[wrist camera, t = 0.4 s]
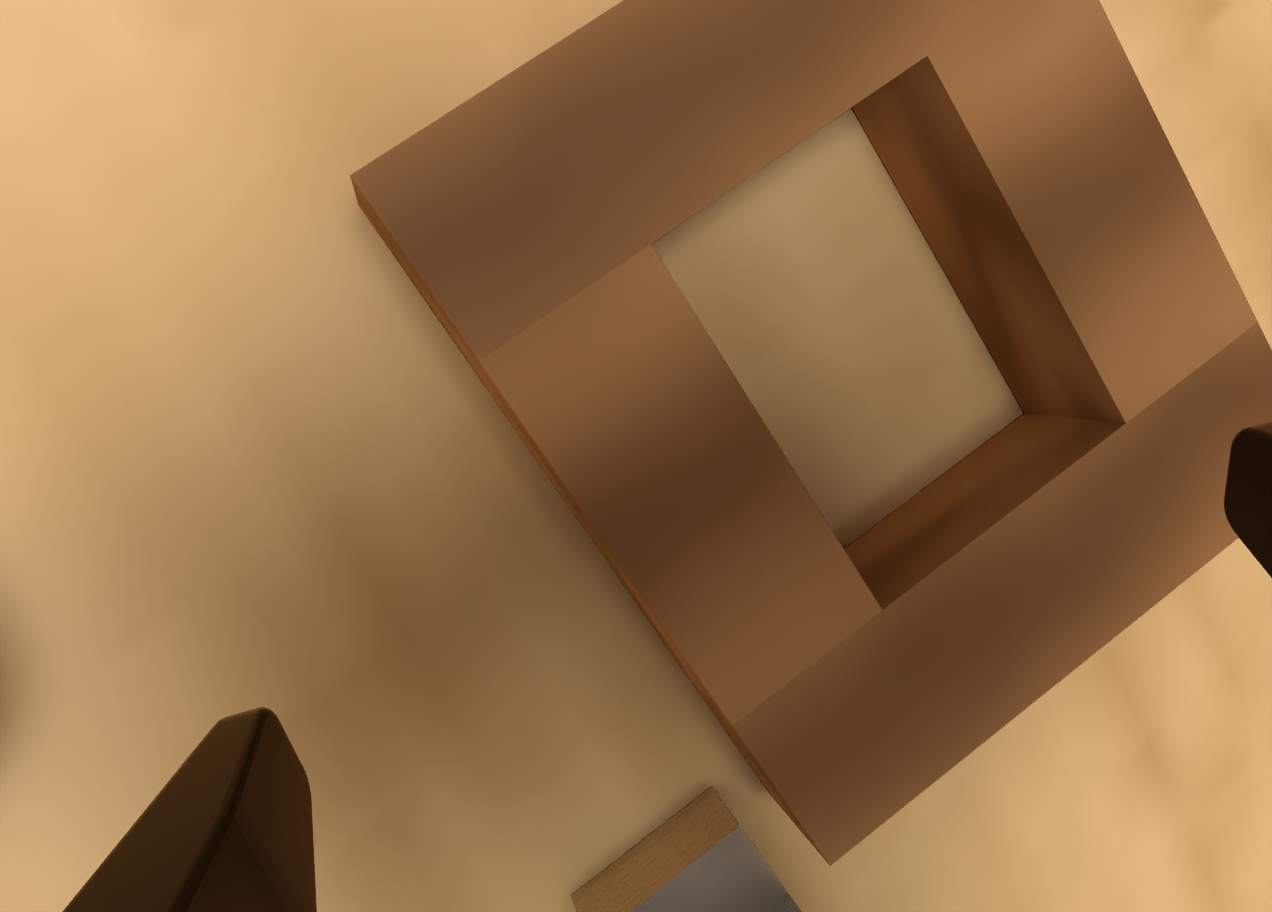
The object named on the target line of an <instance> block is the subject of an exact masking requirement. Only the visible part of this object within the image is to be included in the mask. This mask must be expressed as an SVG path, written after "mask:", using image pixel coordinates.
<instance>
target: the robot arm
mask: <svg viewBox="0 0 1272 912" xmlns="http://www.w3.org/2000/svg"><path fill="white" fill-rule="evenodd" d="M1224 510H1225V514H1226V517H1227V520H1228V522H1229V524H1230V526H1231V528H1232V529H1233V531H1234V532H1235V533H1236V534H1237V536H1238V537H1239V538H1240V539H1241V541H1242V542H1243V543H1244V544H1245V546H1246V547H1247V548H1248V549H1249V550H1250V552H1251V553H1252V554H1253V555H1254V557H1255V558H1256V559H1257V560H1258V562H1259V563H1260V564H1261V565H1262V566H1263V568H1264V569H1265V570H1266V571H1267V573H1268V574H1269V575H1270V576H1271V578H1272V421H1268V422H1265V423H1261V424H1258V425H1254V426H1251V427H1247V428H1244V429H1242V430H1241V431H1240V432H1238V433H1237V434H1236V436H1235V437H1234V439H1233V441H1232V444H1231V449H1230V457H1229V465H1228V472H1227V480H1226V488H1225V495H1224ZM63 912H317V908H316V887H315V865H314V844H313V823H312V801H311V792H310V786H309V782H308V778H307V775H306V772H305V770H304V768H303V766H302V764H301V762H300V760H299V758H298V756H297V754H296V752H295V750H294V748H293V746H292V745H291V743H290V741H289V739H288V737H287V735H286V733H285V731H284V729H283V727H282V725H281V723H280V721H279V719H278V718H277V716H276V715H275V714H274V713H273V712H272V711H271V709H268V708H264V707H260V708H256V709H253V710H249V711H246V712H242V713H239V714H235V715H231V716H228V717H225V718H223V719H221V720H220V721H218V722H217V723H216V724H215V725H214V726H213V728H212V729H211V730H210V731H209V732H208V734H207V735H206V736H205V737H204V739H203V740H202V741H201V742H200V744H199V745H198V746H197V747H196V748H195V750H194V751H193V752H192V753H191V755H190V756H189V757H188V758H187V760H186V761H185V762H184V763H183V764H182V766H181V767H180V768H179V769H178V771H177V772H176V773H175V774H174V775H173V777H172V778H171V779H170V780H169V782H168V783H167V784H166V785H165V787H164V788H163V789H162V790H161V791H160V793H159V794H158V795H157V796H156V798H155V799H154V800H153V801H152V803H151V804H150V805H149V806H148V807H147V809H146V810H145V811H144V812H143V814H142V815H141V816H140V817H139V819H138V820H137V821H136V822H135V823H134V825H133V826H132V827H131V828H130V830H129V831H128V832H127V833H126V834H125V836H124V837H123V838H122V839H121V841H120V842H119V843H118V844H117V846H116V847H115V848H114V849H113V850H112V852H111V853H110V854H109V855H108V857H107V858H106V859H105V860H104V862H103V863H102V864H101V865H100V866H99V868H98V869H97V870H96V871H95V873H94V874H93V875H92V876H91V878H90V879H89V880H88V881H87V882H86V884H85V885H84V886H83V887H82V889H81V890H80V891H79V892H78V893H77V895H76V896H75V897H74V898H73V900H72V901H71V902H70V903H69V905H68V906H67V907H66V908H65V909H64V911H63Z"/></svg>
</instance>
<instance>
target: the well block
mask: <svg viewBox="0 0 1272 912" xmlns="http://www.w3.org/2000/svg"><path fill="white" fill-rule="evenodd" d="M851 107H852V109H853V110H854V112H855V114H856V116H857V118H858V119H859V121H860V123H861V125H862V126H863V128H864V130H865V132H866V134H867V135H868V137H869V139H870V141H871V142H872V144H873V146H874V148H875V149H876V151H877V153H878V155H879V157H880V158H881V160H882V162H883V164H884V165H885V167H886V169H887V171H888V172H889V174H890V176H891V178H892V180H893V181H894V183H895V185H896V187H897V188H898V190H899V192H900V194H901V196H902V197H903V199H904V201H905V203H906V204H907V206H908V208H909V210H910V211H911V213H912V215H913V217H914V219H915V220H916V222H917V224H918V226H919V227H920V229H921V231H922V233H923V234H924V236H925V238H926V240H927V242H928V243H929V245H930V247H931V249H932V250H933V252H934V254H935V256H936V257H937V259H938V261H939V263H940V265H941V266H942V268H943V270H944V272H945V273H946V275H947V277H948V279H949V281H950V282H951V284H952V286H953V288H954V289H955V291H956V293H957V295H958V296H959V298H960V300H961V302H962V304H963V305H964V307H965V309H966V311H967V312H968V314H969V316H970V318H971V319H972V321H973V323H974V325H975V327H976V328H977V330H978V332H979V334H980V335H981V337H982V339H983V341H984V342H985V344H986V346H987V348H988V350H989V351H990V353H991V355H992V357H993V358H994V360H995V362H996V364H997V366H998V367H999V369H1000V371H1001V373H1002V374H1003V376H1004V378H1005V380H1006V381H1007V383H1008V385H1009V387H1010V389H1011V390H1012V392H1013V394H1014V396H1015V397H1016V399H1017V401H1018V403H1019V404H1020V406H1021V408H1022V410H1023V412H1024V414H1023V415H1022V416H1020V417H1019V418H1018V419H1016V420H1015V421H1014V422H1012V423H1011V424H1010V425H1008V426H1007V427H1006V428H1004V429H1003V430H1002V431H1000V432H999V433H998V434H996V435H995V436H994V437H992V438H991V439H990V440H988V441H987V442H986V443H984V444H983V445H982V446H980V447H979V448H978V449H976V450H975V451H974V452H972V453H971V454H970V455H968V456H967V457H966V458H964V459H963V460H962V461H960V462H959V463H958V464H956V465H955V466H954V467H952V468H951V469H950V470H949V471H947V472H946V473H945V474H943V475H942V476H941V477H939V478H938V479H937V480H935V481H934V482H933V483H931V484H930V485H929V486H927V487H926V488H925V489H923V490H922V491H921V492H919V493H918V494H917V495H915V496H914V497H913V498H911V499H910V500H909V501H907V502H906V503H905V504H903V505H902V506H901V507H899V508H898V509H897V510H895V511H894V512H893V513H891V514H890V515H889V516H887V517H886V518H885V519H883V520H882V521H881V522H879V523H878V524H877V525H875V526H874V527H873V528H871V529H870V530H869V531H868V532H866V533H865V534H864V535H862V536H861V537H860V538H858V539H857V540H856V541H854V542H853V543H852V544H850V545H849V546H848V547H846V548H845V549H843V547H842V545H841V544H840V542H839V541H838V539H837V538H836V536H835V534H834V533H833V531H832V530H831V528H830V526H829V525H828V523H827V522H826V520H825V519H824V517H823V515H822V514H821V512H820V511H819V509H818V508H817V506H816V504H815V503H814V501H813V500H812V498H811V496H810V495H809V493H808V492H807V490H806V489H805V487H804V485H803V484H802V482H801V481H800V479H799V478H798V476H797V474H796V473H795V471H794V470H793V468H792V466H791V465H790V463H789V462H788V460H787V459H786V457H785V455H784V454H783V452H782V451H781V449H780V447H779V446H778V444H777V443H776V441H775V440H774V438H773V436H772V435H771V433H770V432H769V430H768V429H767V427H766V425H765V424H764V422H763V421H762V419H761V417H760V416H759V414H758V413H757V411H756V410H755V408H754V406H753V405H752V403H751V402H750V400H749V399H748V397H747V395H746V394H745V392H744V391H743V389H742V387H741V386H740V384H739V383H738V381H737V380H736V378H735V376H734V375H733V373H732V372H731V370H730V368H729V367H728V365H727V364H726V362H725V361H724V359H723V357H722V356H721V354H720V353H719V351H718V350H717V348H716V346H715V345H714V343H713V342H712V340H711V338H710V337H709V335H708V334H707V332H706V331H705V329H704V327H703V326H702V324H701V323H700V321H699V320H698V318H697V316H696V315H695V313H694V312H693V310H692V308H691V307H690V305H689V304H688V302H687V301H686V299H685V297H684V296H683V294H682V293H681V291H680V289H679V288H678V286H677V285H676V283H675V282H674V280H673V278H672V277H671V275H670V274H669V272H668V271H667V269H666V267H665V266H664V264H663V263H662V261H661V259H660V258H659V256H658V255H657V253H656V252H655V250H654V248H653V247H652V245H651V243H653V242H654V241H656V240H657V239H659V238H660V237H662V236H663V235H665V234H666V233H668V232H669V231H671V230H672V229H673V228H675V227H676V226H678V225H679V224H681V223H682V222H684V221H685V220H687V219H688V218H690V217H691V216H693V215H694V214H696V213H697V212H698V211H700V210H701V209H703V208H704V207H706V206H707V205H709V204H710V203H712V202H713V201H715V200H716V199H718V198H719V197H720V196H722V195H723V194H725V193H726V192H728V191H729V190H731V189H732V188H734V187H735V186H737V185H738V184H740V183H741V182H742V181H744V180H745V179H747V178H748V177H750V176H751V175H753V174H754V173H756V172H757V171H759V170H760V169H762V168H763V167H765V166H766V165H767V164H769V163H770V162H772V161H773V160H775V159H776V158H778V157H779V156H781V155H782V154H784V153H785V152H787V151H788V150H789V149H791V148H792V147H794V146H795V145H797V144H798V143H800V142H801V141H803V140H804V139H806V138H807V137H809V136H810V135H812V134H813V133H814V132H816V131H817V130H819V129H820V128H822V127H823V126H825V125H826V124H828V123H829V122H831V121H832V120H834V119H835V118H836V117H838V116H839V115H841V114H842V113H844V112H845V111H847V110H848V109H850V108H851ZM350 177H351V180H352V184H353V187H354V191H355V194H356V198H357V201H358V205H359V206H360V208H361V209H362V211H363V212H364V213H365V215H366V216H367V218H368V219H369V221H370V222H371V223H372V225H373V226H374V228H375V229H376V231H377V232H378V233H379V235H380V236H381V238H382V239H383V241H384V242H385V244H386V245H387V246H388V248H389V249H390V251H391V252H392V254H393V255H394V256H395V258H396V259H397V261H398V262H399V264H400V265H401V266H402V268H403V269H404V271H405V272H406V274H407V275H408V276H409V278H410V279H411V281H412V282H413V284H414V285H415V286H416V288H417V289H418V291H419V292H420V294H421V295H422V297H423V298H424V299H425V301H426V302H427V304H428V305H429V307H430V308H431V309H432V311H433V312H434V314H435V315H436V317H437V318H438V319H439V321H440V322H441V324H442V325H443V327H444V328H445V329H446V331H447V332H448V334H449V335H450V337H451V338H452V340H453V341H454V342H455V344H456V345H457V347H458V348H459V350H460V351H461V352H462V354H463V355H464V357H465V358H466V360H467V361H468V362H469V364H470V365H471V367H472V368H473V370H474V371H475V372H476V374H477V375H478V377H479V378H480V380H481V381H482V383H483V384H484V385H485V387H486V388H487V390H488V391H489V393H490V394H491V395H492V397H493V398H494V400H495V401H496V403H497V404H498V405H499V407H500V408H501V410H502V411H503V413H504V414H505V415H506V417H507V418H508V420H509V421H510V423H511V424H512V425H513V427H514V428H515V430H516V431H517V433H518V434H519V436H520V437H521V438H522V440H523V441H524V443H525V444H526V446H527V447H528V448H529V450H530V451H531V453H532V454H533V456H534V457H535V458H536V460H537V461H538V463H539V464H540V466H541V467H542V468H543V470H544V471H545V473H546V474H547V476H548V477H549V479H550V480H551V481H552V483H553V484H554V486H555V487H556V489H557V490H558V491H559V493H560V494H561V496H562V497H563V499H564V500H565V501H566V503H567V504H568V506H569V507H570V509H571V510H572V511H573V513H574V514H575V516H576V517H577V519H578V520H579V521H580V523H581V524H582V526H583V527H584V529H585V530H586V532H587V533H588V534H589V536H590V537H591V539H592V540H593V542H594V543H595V544H596V546H597V547H598V549H599V550H600V552H601V553H602V554H603V556H604V557H605V559H606V560H607V562H608V563H609V564H610V566H611V567H612V569H613V570H614V572H615V573H616V575H617V576H618V577H619V579H620V580H621V582H622V583H623V585H624V586H625V587H626V589H627V590H628V592H629V593H630V595H631V596H632V597H633V599H634V600H635V602H636V603H637V605H638V606H639V607H640V609H641V610H642V612H643V613H644V615H645V616H646V617H647V619H648V620H649V622H650V623H651V625H652V626H653V628H654V629H655V630H656V632H657V633H658V635H659V636H660V638H661V639H662V640H663V642H664V643H665V645H666V646H667V648H668V649H669V650H670V652H671V653H672V655H673V656H674V658H675V659H676V660H677V662H678V663H679V665H680V666H681V668H682V669H683V671H684V672H685V673H686V675H687V676H688V678H689V679H690V681H691V682H692V683H693V685H694V686H695V688H696V689H697V691H698V692H699V693H700V695H701V696H702V698H703V699H704V701H705V702H706V703H707V705H708V706H709V708H710V709H711V711H712V712H713V714H714V715H715V716H716V718H717V719H718V721H719V722H720V724H721V725H722V726H723V728H724V729H725V731H726V732H727V734H728V735H729V736H730V738H731V739H732V741H733V742H734V744H735V745H736V746H737V748H738V749H739V751H740V752H741V754H742V755H743V756H744V758H745V759H746V761H747V762H748V764H749V765H750V767H751V768H752V769H753V771H754V772H755V774H756V775H757V777H758V778H759V779H760V781H761V782H762V784H763V785H764V787H765V788H766V789H767V791H768V792H769V794H770V795H771V796H772V797H773V798H774V799H775V801H776V802H777V803H778V804H779V805H780V807H781V808H782V809H783V810H784V811H785V813H786V814H787V815H788V816H789V817H790V819H791V820H792V821H793V822H794V823H795V825H796V826H797V827H798V828H799V829H800V831H801V832H802V833H803V834H804V835H805V837H806V838H807V839H808V840H809V841H810V843H811V844H812V845H813V846H814V847H815V849H816V850H817V851H818V852H819V853H820V854H821V856H822V857H823V858H824V859H825V860H826V862H827V863H828V864H829V865H832V864H833V863H834V862H835V861H837V860H838V859H839V858H840V857H842V856H843V855H844V854H845V853H847V852H848V851H849V850H850V849H852V848H853V847H854V846H855V845H857V844H858V843H859V842H860V841H862V840H863V839H864V838H865V837H867V836H868V835H869V834H870V833H872V832H873V831H874V830H875V829H877V828H878V827H879V826H880V825H882V824H883V823H884V822H885V821H886V820H888V819H889V818H890V817H891V816H893V815H894V814H895V813H896V812H898V811H899V810H900V809H901V808H903V807H904V806H905V805H906V804H908V803H909V802H910V801H911V800H913V799H914V798H915V797H916V796H918V795H919V794H920V793H921V792H923V791H924V790H925V789H926V788H928V787H929V786H930V785H931V784H933V783H934V782H935V781H936V780H938V779H939V778H940V777H941V776H942V775H944V774H945V773H946V772H947V771H949V770H950V769H951V768H952V767H954V766H955V765H956V764H957V763H959V762H960V761H961V760H962V759H964V758H965V757H966V756H967V755H969V754H970V753H971V752H972V751H974V750H975V749H976V748H977V747H979V746H980V745H981V744H982V743H984V742H985V741H986V740H987V739H989V738H990V737H991V736H992V735H994V734H995V733H996V732H997V731H999V730H1000V729H1001V728H1002V727H1003V726H1005V725H1006V724H1007V723H1008V722H1010V721H1011V720H1012V719H1013V718H1015V717H1016V716H1017V715H1018V714H1020V713H1021V712H1022V711H1023V710H1025V709H1026V708H1027V707H1028V706H1030V705H1031V704H1032V703H1033V702H1035V701H1036V700H1037V699H1038V698H1040V697H1041V696H1042V695H1043V694H1045V693H1046V692H1047V691H1048V690H1050V689H1051V688H1052V687H1053V686H1055V685H1056V684H1057V683H1058V682H1059V681H1061V680H1062V679H1063V678H1064V677H1066V676H1067V675H1068V674H1069V673H1071V672H1072V671H1073V670H1074V669H1076V668H1077V667H1078V666H1079V665H1081V664H1082V663H1083V662H1084V661H1086V660H1087V659H1088V658H1089V657H1091V656H1092V655H1093V654H1094V653H1096V652H1097V651H1098V650H1099V649H1101V648H1102V647H1103V646H1104V645H1106V644H1107V643H1108V642H1109V641H1111V640H1112V639H1113V638H1114V637H1116V636H1117V635H1118V634H1119V633H1120V632H1122V631H1123V630H1124V629H1125V628H1127V627H1128V626H1129V625H1130V624H1132V623H1133V622H1134V621H1135V620H1137V619H1138V618H1139V617H1140V616H1142V615H1143V614H1144V613H1145V612H1147V611H1148V610H1149V609H1150V608H1152V607H1153V606H1154V605H1155V604H1157V603H1158V602H1159V601H1160V600H1162V599H1163V598H1164V597H1165V596H1167V595H1168V594H1169V593H1170V592H1172V591H1173V590H1174V589H1175V588H1176V587H1178V586H1179V585H1180V584H1181V583H1183V582H1184V581H1185V580H1186V579H1188V578H1189V577H1190V576H1191V575H1193V574H1194V573H1195V572H1196V571H1198V570H1199V569H1200V568H1201V567H1203V566H1204V565H1205V564H1206V563H1208V562H1209V561H1210V560H1211V559H1213V558H1214V557H1215V556H1216V555H1218V554H1219V553H1220V552H1221V551H1223V550H1224V549H1225V548H1226V547H1228V546H1229V545H1230V544H1231V543H1233V542H1234V541H1235V540H1236V539H1237V538H1239V537H1238V536H1237V534H1236V533H1235V532H1234V531H1233V529H1232V528H1231V526H1230V524H1229V522H1228V520H1227V517H1226V514H1225V510H1224V495H1225V488H1226V480H1227V472H1228V465H1229V457H1230V449H1231V444H1232V441H1233V439H1234V437H1235V436H1236V434H1237V433H1238V432H1240V431H1241V430H1242V429H1244V428H1247V427H1251V426H1254V425H1258V424H1261V423H1265V422H1268V421H1272V350H1271V348H1270V346H1269V344H1268V342H1267V340H1266V338H1265V336H1264V334H1263V332H1262V330H1261V328H1260V326H1259V324H1258V321H1257V319H1256V317H1255V315H1254V313H1253V311H1252V309H1251V307H1250V305H1249V303H1248V301H1247V299H1246V297H1245V295H1244V293H1243V291H1242V289H1241V287H1240V285H1239V283H1238V281H1237V279H1236V277H1235V275H1234V273H1233V271H1232V269H1231V267H1230V265H1229V263H1228V261H1227V259H1226V257H1225V255H1224V253H1223V251H1222V249H1221V247H1220V244H1219V242H1218V240H1217V238H1216V236H1215V234H1214V232H1213V230H1212V228H1211V226H1210V224H1209V222H1208V220H1207V218H1206V216H1205V214H1204V212H1203V210H1202V208H1201V206H1200V204H1199V202H1198V200H1197V198H1196V196H1195V194H1194V192H1193V190H1192V188H1191V186H1190V184H1189V182H1188V180H1187V178H1186V176H1185V174H1184V172H1183V170H1182V167H1181V165H1180V163H1179V161H1178V159H1177V157H1176V155H1175V153H1174V151H1173V149H1172V147H1171V145H1170V143H1169V141H1168V139H1167V137H1166V135H1165V133H1164V131H1163V129H1162V127H1161V125H1160V123H1159V121H1158V119H1157V117H1156V115H1155V113H1154V111H1153V109H1152V107H1151V105H1150V103H1149V101H1148V99H1147V97H1146V95H1145V93H1144V90H1143V88H1142V86H1141V84H1140V82H1139V80H1138V78H1137V76H1136V74H1135V72H1134V70H1133V68H1132V66H1131V64H1130V62H1129V60H1128V58H1127V56H1126V54H1125V52H1124V50H1123V48H1122V46H1121V44H1120V42H1119V40H1118V38H1117V36H1116V34H1115V32H1114V30H1113V28H1112V26H1111V24H1110V22H1109V20H1108V18H1107V15H1106V13H1105V11H1104V9H1103V7H1102V5H1101V3H1100V1H1099V0H624V1H622V2H621V3H619V4H618V5H616V6H614V7H613V8H611V9H610V10H608V11H607V12H605V13H603V14H602V15H600V16H599V17H597V18H596V19H594V20H592V21H591V22H589V23H588V24H586V25H585V26H583V27H582V28H580V29H578V30H577V31H575V32H574V33H572V34H571V35H569V36H567V37H566V38H564V39H563V40H561V41H560V42H558V43H557V44H555V45H553V46H552V47H550V48H549V49H547V50H546V51H544V52H542V53H541V54H539V55H538V56H536V57H535V58H533V59H531V60H530V61H528V62H527V63H525V64H524V65H522V66H521V67H519V68H517V69H516V70H514V71H513V72H511V73H510V74H508V75H506V76H505V77H503V78H502V79H500V80H499V81H497V82H496V83H494V84H492V85H491V86H489V87H488V88H486V89H485V90H483V91H481V92H480V93H478V94H477V95H475V96H474V97H472V98H470V99H469V100H467V101H466V102H464V103H463V104H461V105H460V106H458V107H456V108H455V109H453V110H452V111H450V112H449V113H447V114H445V115H444V116H442V117H441V118H439V119H438V120H436V121H435V122H433V123H431V124H430V125H428V126H427V127H425V128H424V129H422V130H420V131H419V132H417V133H416V134H414V135H413V136H411V137H409V138H408V139H406V140H405V141H403V142H402V143H400V144H399V145H397V146H395V147H394V148H392V149H391V150H389V151H388V152H386V153H384V154H383V155H381V156H380V157H378V158H377V159H375V160H374V161H372V162H370V163H369V164H367V165H366V166H364V167H363V168H361V169H359V170H358V171H356V172H355V173H353V174H352V175H350Z"/></svg>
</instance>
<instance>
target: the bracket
mask: <svg viewBox="0 0 1272 912" xmlns="http://www.w3.org/2000/svg"><path fill="white" fill-rule="evenodd" d="M571 896H572V899H573V902H574V905H575V909H576V912H801V910H800V909H799V908H798V906H797V905H796V903H795V902H794V901H793V899H792V898H791V896H790V895H789V894H788V892H787V891H786V890H785V888H784V887H783V885H782V884H781V882H780V881H779V880H778V878H777V877H776V875H775V874H774V873H773V871H772V870H771V868H770V867H769V866H768V864H767V863H766V861H765V860H764V859H763V857H762V856H761V854H760V853H759V852H758V850H757V849H756V847H755V846H754V845H753V843H752V842H751V840H750V839H749V838H748V836H747V835H746V833H745V832H744V831H743V829H742V828H741V826H740V825H739V824H738V822H737V821H736V819H735V818H734V817H733V815H732V814H731V812H730V811H729V810H728V808H727V807H726V806H725V804H724V803H723V801H722V800H721V799H720V797H719V796H718V794H717V793H716V792H715V790H714V789H713V788H712V787H710V788H709V789H708V790H707V791H705V792H704V793H703V794H701V795H700V796H699V797H697V798H696V799H695V800H694V801H692V802H691V803H690V804H688V805H687V806H686V807H685V808H683V809H682V810H681V811H679V812H678V813H677V814H676V815H674V816H673V817H672V818H670V819H669V820H668V821H667V822H665V823H664V824H663V825H661V826H660V827H659V828H658V829H656V830H655V831H654V832H652V833H651V834H650V835H649V836H647V837H646V838H645V839H643V840H642V841H641V842H640V843H638V844H637V845H636V846H634V847H633V848H632V849H631V850H629V851H628V852H627V853H625V854H624V855H623V856H622V857H620V858H619V859H618V860H616V861H615V862H614V863H613V864H611V865H610V866H609V867H607V868H606V869H605V870H603V871H602V872H601V873H600V874H598V875H597V876H596V877H594V878H593V879H592V880H591V881H589V882H588V883H587V884H585V885H584V886H583V887H582V888H580V889H579V890H578V891H576V892H575V893H574V894H573V895H571Z"/></svg>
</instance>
